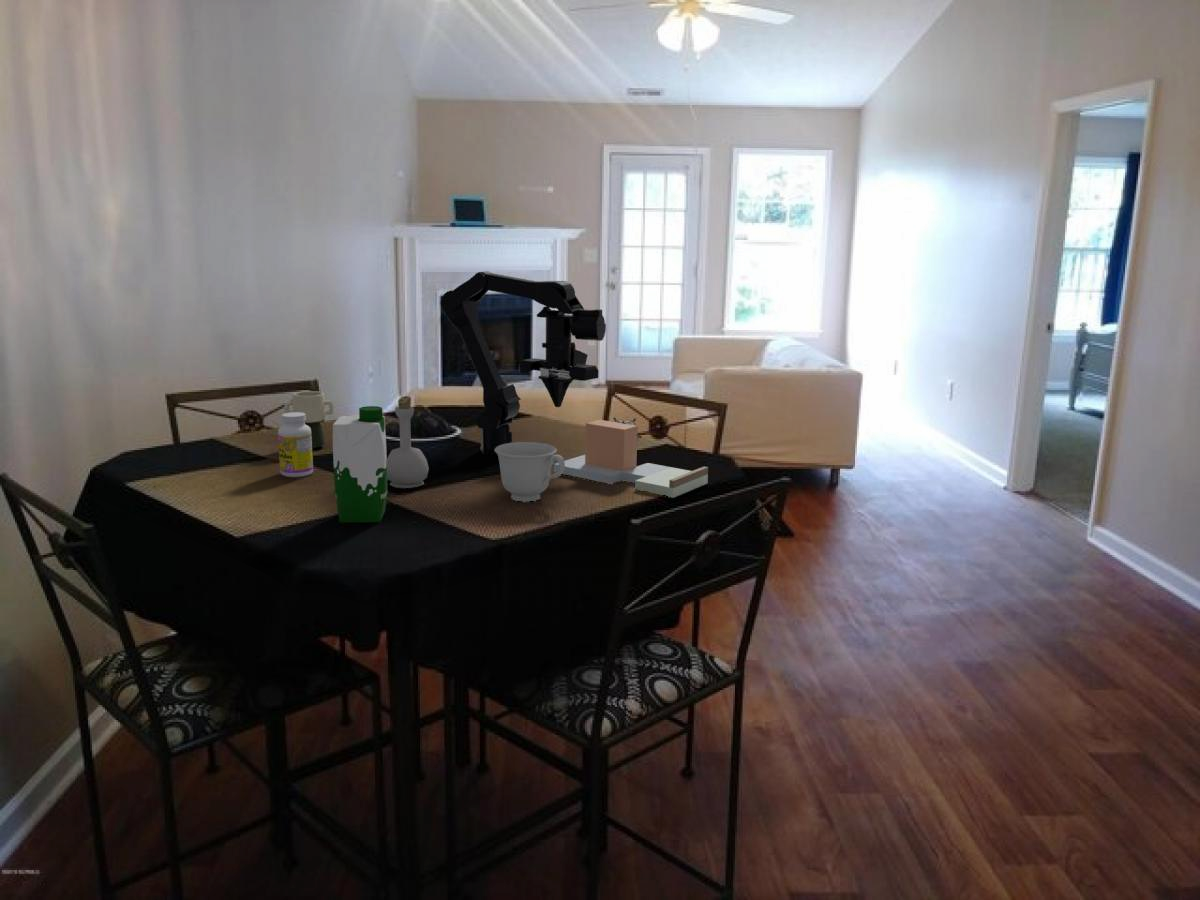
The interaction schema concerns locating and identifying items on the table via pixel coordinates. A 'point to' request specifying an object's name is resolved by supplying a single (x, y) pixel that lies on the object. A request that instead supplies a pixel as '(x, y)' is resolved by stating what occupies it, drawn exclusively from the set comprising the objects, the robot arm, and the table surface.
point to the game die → (629, 424)
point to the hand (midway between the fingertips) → (557, 406)
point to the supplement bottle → (295, 446)
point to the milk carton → (360, 465)
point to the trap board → (641, 476)
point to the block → (611, 445)
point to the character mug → (311, 412)
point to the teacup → (527, 468)
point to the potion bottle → (406, 453)
